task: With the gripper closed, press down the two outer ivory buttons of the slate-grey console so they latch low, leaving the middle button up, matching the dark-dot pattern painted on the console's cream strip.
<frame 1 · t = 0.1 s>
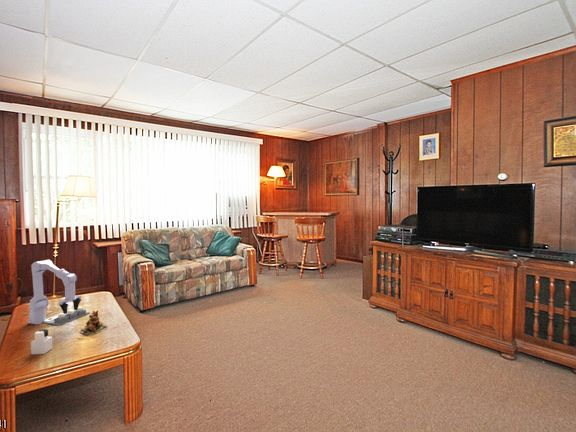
hand: (70, 311, 211), 10 cm above the table, fingers open, 7 cm apart
console: (65, 317, 227), on the table
button 1: (61, 315, 218), point 4 cm above the table, slide at 0.0 cm
button middle: (70, 312, 225), point 5 cm above the table, slide at 0.0 cm
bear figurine: (93, 331, 205), on the table
button 2: (79, 309, 232), point 4 cm above the table, slide at 0.0 cm
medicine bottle: (42, 351, 176), on the table
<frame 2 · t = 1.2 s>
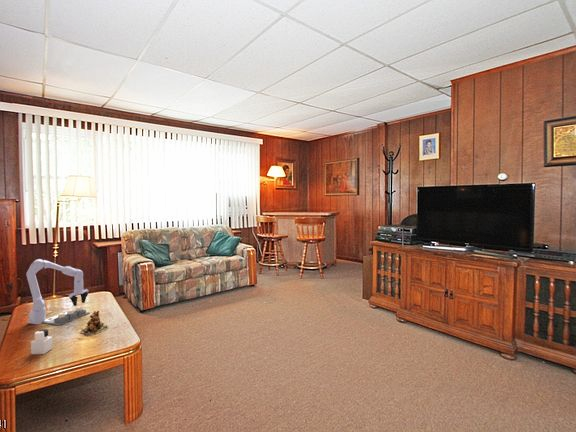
hand: (79, 304, 232), 8 cm above the table, fingers open, 6 cm apart
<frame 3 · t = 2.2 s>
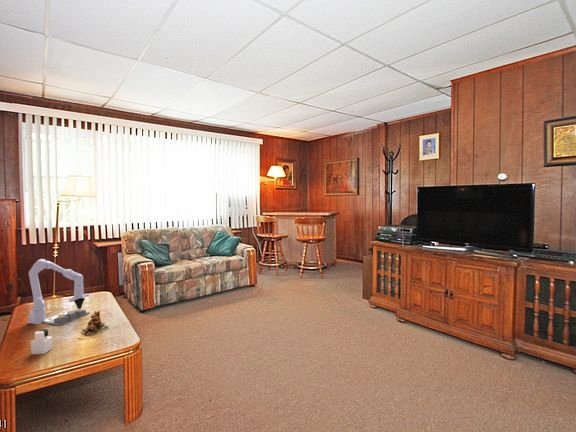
hand: (79, 308, 232), 5 cm above the table, fingers closed, pressing on button 2
button 2: (79, 310, 232), point 4 cm above the table, slide at 0.8 cm, touching gripper
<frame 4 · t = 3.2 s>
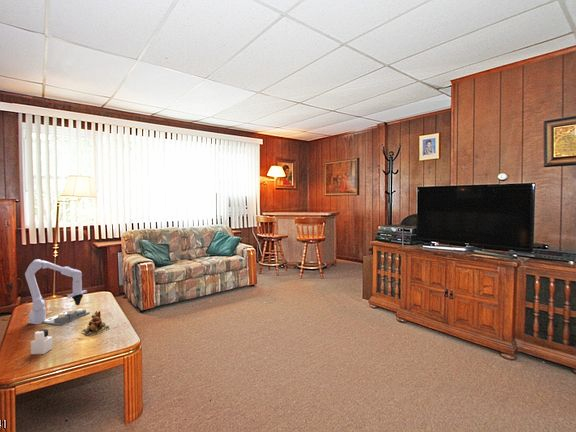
hand: (77, 304, 231), 8 cm above the table, fingers closed
button 2: (79, 311, 232), point 3 cm above the table, slide at 1.8 cm
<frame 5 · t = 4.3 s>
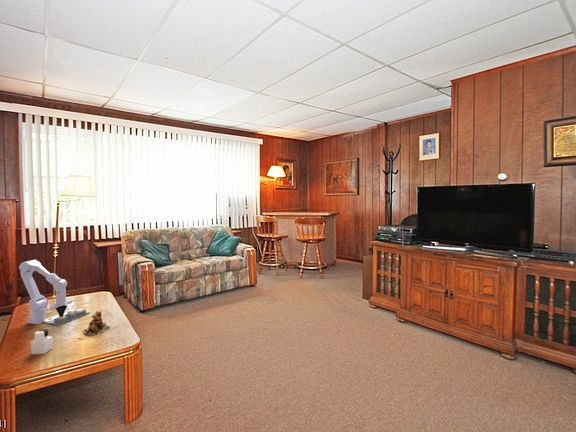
hand: (61, 316, 218), 4 cm above the table, fingers closed, pressing on button 1
button 1: (61, 318, 218), point 3 cm above the table, slide at 1.8 cm, touching gripper
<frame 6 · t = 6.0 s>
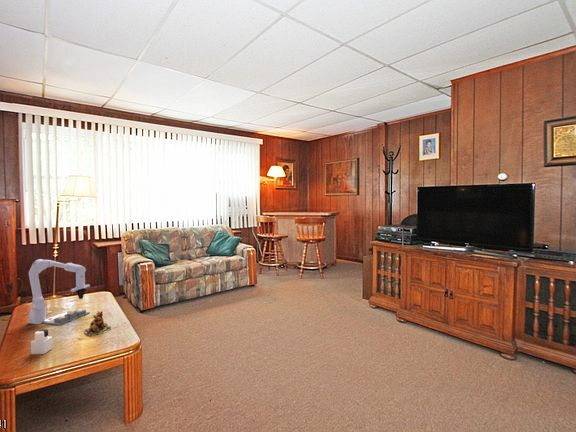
hand: (80, 298, 239), 10 cm above the table, fingers closed
button 1: (61, 318, 218), point 3 cm above the table, slide at 1.8 cm
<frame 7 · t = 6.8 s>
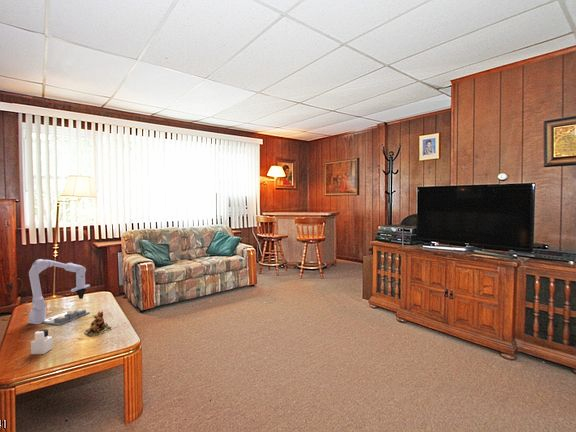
hand: (81, 298, 239), 10 cm above the table, fingers closed
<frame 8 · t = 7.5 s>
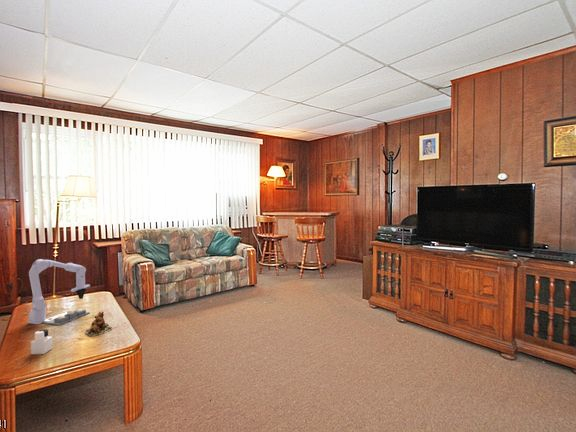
hand: (81, 298, 239), 10 cm above the table, fingers closed
at the end: button 2 slide at 1.8 cm; button 1 slide at 1.8 cm; button middle slide at 0.0 cm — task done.
